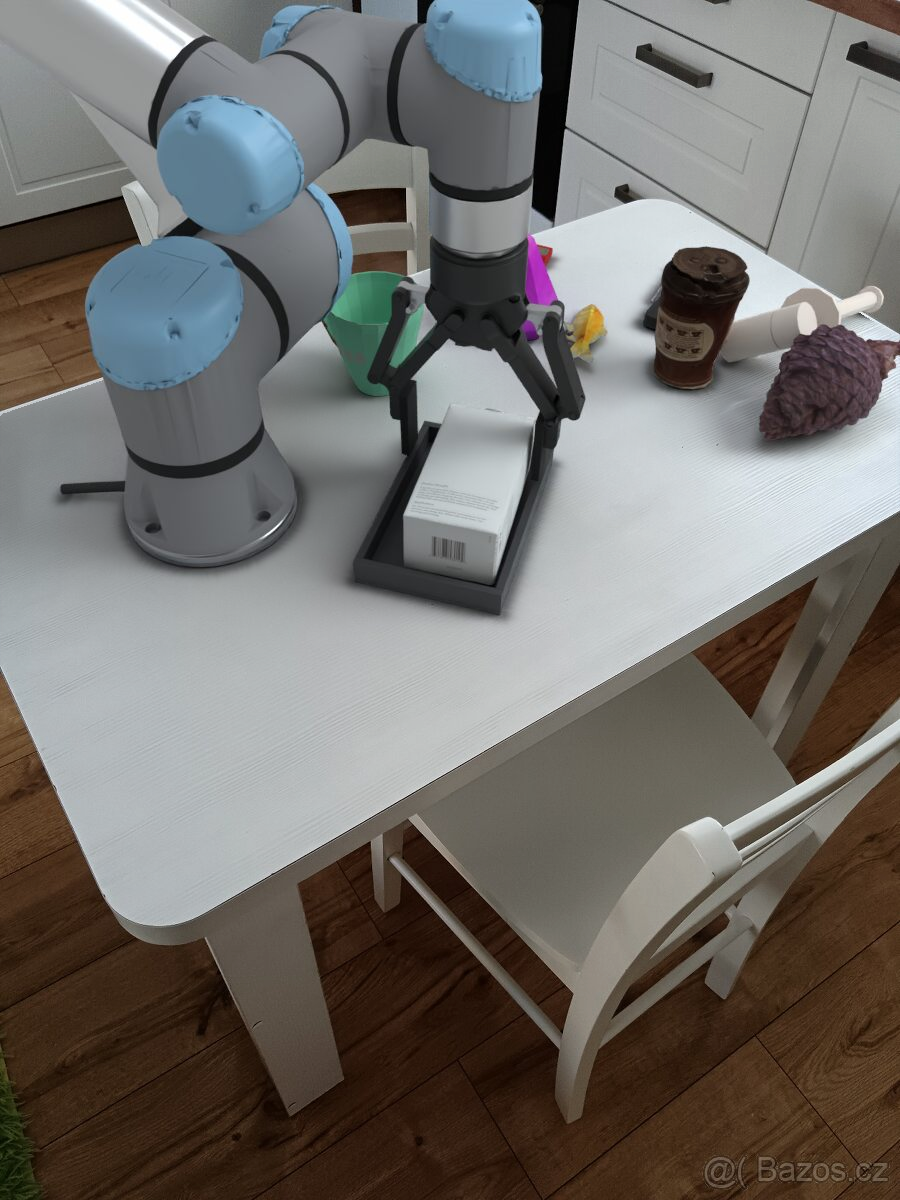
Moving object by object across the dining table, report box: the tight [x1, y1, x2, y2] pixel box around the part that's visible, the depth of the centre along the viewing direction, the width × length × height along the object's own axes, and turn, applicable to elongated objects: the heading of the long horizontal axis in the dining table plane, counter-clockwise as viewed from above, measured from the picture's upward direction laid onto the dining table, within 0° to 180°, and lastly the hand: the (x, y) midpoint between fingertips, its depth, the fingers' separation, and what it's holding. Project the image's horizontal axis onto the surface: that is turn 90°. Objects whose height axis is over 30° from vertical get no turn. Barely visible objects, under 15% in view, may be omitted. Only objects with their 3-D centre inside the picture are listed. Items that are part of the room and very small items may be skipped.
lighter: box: [536, 243, 554, 267], centre depth 117 cm, size 3×1×8 cm
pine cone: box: [758, 324, 900, 442], centre depth 93 cm, size 18×10×10 cm, turn 124°
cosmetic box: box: [403, 403, 537, 585], centre depth 83 cm, size 8×7×16 cm
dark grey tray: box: [352, 420, 555, 615], centre depth 85 cm, size 20×13×2 cm, turn 163°
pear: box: [508, 232, 559, 341], centre depth 102 cm, size 11×11×15 cm
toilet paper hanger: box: [719, 285, 884, 363], centre depth 104 cm, size 21×11×7 cm
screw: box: [650, 285, 662, 303], centre depth 113 cm, size 8×1×1 cm
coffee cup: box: [652, 245, 751, 390], centre depth 96 cm, size 9×8×13 cm
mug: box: [321, 270, 425, 397], centre depth 97 cm, size 15×10×10 cm
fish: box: [563, 304, 608, 363], centre depth 105 cm, size 12×2×5 cm
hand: (473, 458), depth 88 cm, fingers open, 12 cm apart
